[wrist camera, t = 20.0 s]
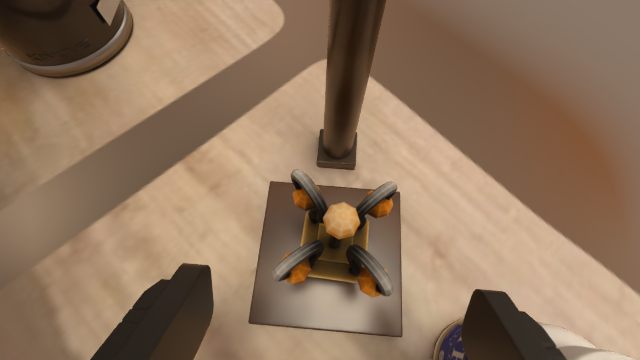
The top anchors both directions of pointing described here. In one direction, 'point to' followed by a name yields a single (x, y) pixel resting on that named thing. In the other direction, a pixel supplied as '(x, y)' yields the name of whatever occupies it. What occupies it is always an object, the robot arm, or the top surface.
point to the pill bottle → (574, 347)
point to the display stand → (333, 201)
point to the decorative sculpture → (337, 239)
